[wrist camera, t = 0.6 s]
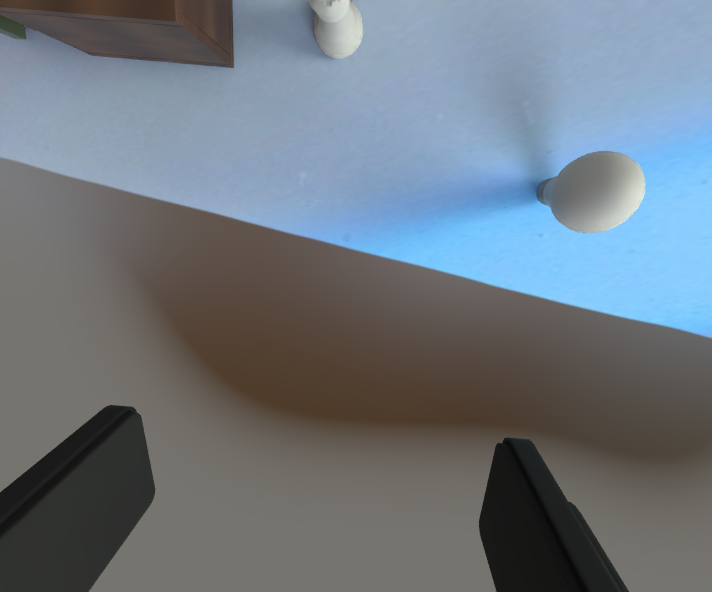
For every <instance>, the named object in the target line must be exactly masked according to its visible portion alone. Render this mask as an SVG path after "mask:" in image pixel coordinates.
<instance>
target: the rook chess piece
mask: <svg viewBox="0 0 712 592" xmlns="http://www.w3.org/2000/svg"><path fill="white" fill-rule="evenodd" d="M308 1H309V3H310V6H311V7H312V8H313V9H314V10H315V11H316V13H315V17H314V21H313V23H314V34H315V38H316V41H317V43H318V45H319V48H320V49H321V50H322V51H323V52H324V53H325V54H326V55H328V56H330V57H333V58H335V59H336V58H345V57H347V56H349V55H351V54H352V53H354V51H355V50H356V49H357V48H358V46H359V45H360V42H361V39H362V36H363V21H362V17H361V15H360V12H359V10H358V7H357V6H356V5H355V4H354V3H353V2H352V0H308Z"/></svg>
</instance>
